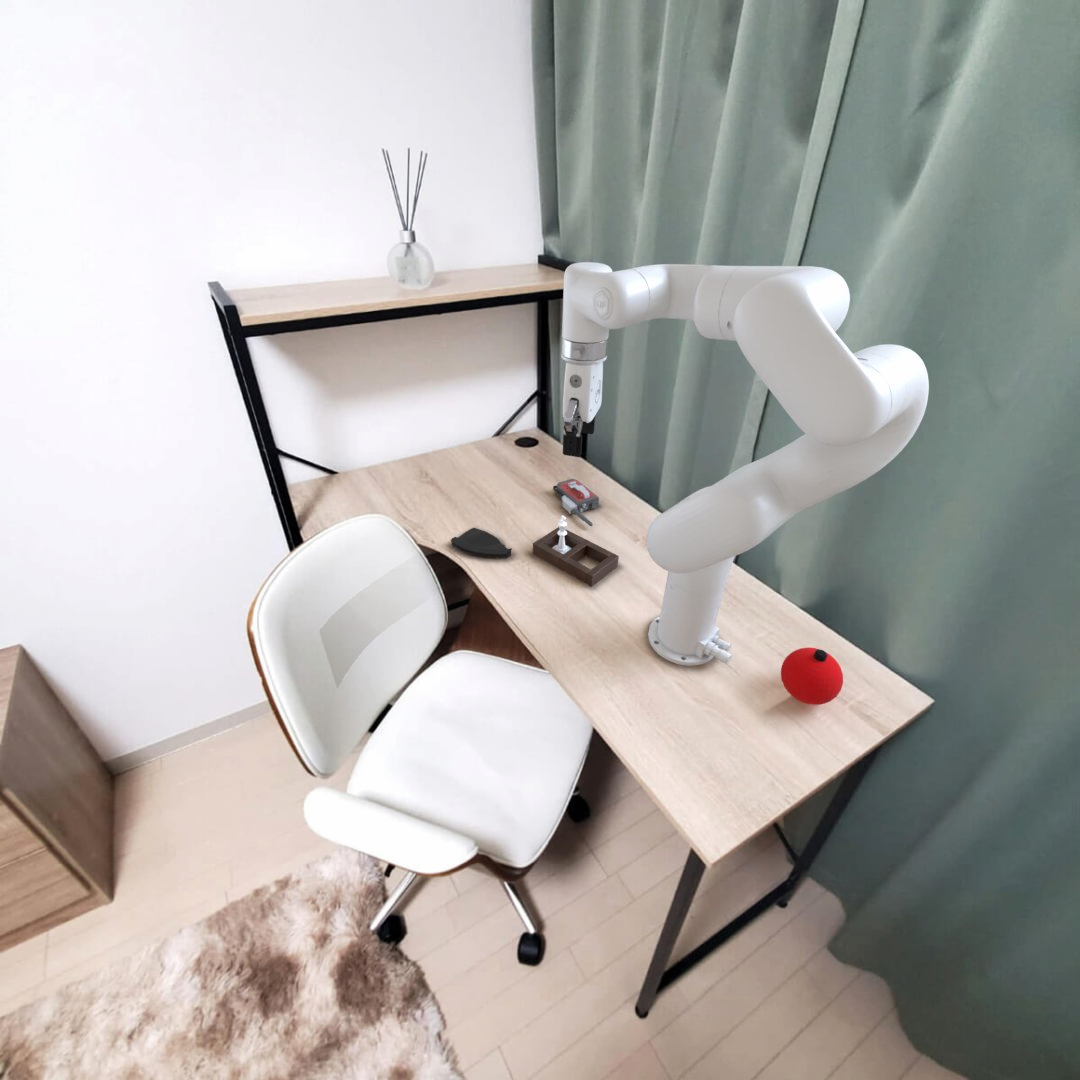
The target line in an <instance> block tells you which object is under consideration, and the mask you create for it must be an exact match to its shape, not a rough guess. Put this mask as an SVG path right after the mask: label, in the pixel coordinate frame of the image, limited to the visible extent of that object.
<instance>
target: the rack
mask: <svg viewBox="0 0 1080 1080" xmlns="http://www.w3.org/2000/svg"><path fill="white" fill-rule="evenodd" d="M559 530H560V529H559V527H556V528H554V529H553V530H552V531H550V532H548V533H546V534H545V535H543V536H542V537H540V538H539V539H537V540H536V541H534V542H533V543H532V555H534V556H536V557H537V558H539V559H541V560H543V561H545V562H546V563H548V564H549V565H552V566H553V567H555V568H557V569H559V570H560V571H562V572H564V573H566V574H568V575H569V576H571V577H573V578H575V579H576V580H578V581H580V582H582V583H584V584H585V585H588V586H589V587H591V588H593V587H594V586H595V585H596V584H598V583H599V582H600V581H601V580H603V579H604V578H605V577H606V576H608V575H609V574H611V573H612V572H613V571H614V570H616V568H618V567H619V555H618V554H616V553H614V552H612V551H611V550H608V549H606V548H604V547H602V546H600V545H598V544H596V543H594V542H592V541H590V540H588V539H586V538H585V537H582V536H580V535H578V534H576V533H574V532H572V531H571V530H568V529H567V528H566V529H565V531H567V535H565V536H564V537H565V545H567V546H569V547H570V548H571V549H570V550H569V551H567V552H566V553H565V554H562V553H560V552H558V551H556V550H554V549H553V547H554V546H556V545H558V544H559V538H560V536H559V535H558V534H557V532H558V531H559ZM585 557H587V558H590V559H592V560H593V561H595V562H597V563H598V564H597V565H595V566H593V567H592V568H590V567H588V566H586V565H583V564H582V563H580V562H579V561H581V560H582V559H583V558H585Z"/></svg>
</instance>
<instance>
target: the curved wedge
mask: <svg viewBox="0 0 1080 1080" xmlns="http://www.w3.org/2000/svg"><path fill="white" fill-rule="evenodd" d="M450 542H451V547H452V549H455V550H456V551H459V552H461V553H462V554H465V555H468V556H471V557H476V558H483V559H504V558H510V557H511V556H512V550H513V548H512V547H511V548H507V547H506V546H505V544H503V543H502V542H501V541H500V539H499V538H498V537H496V536H495V535H493V534H491V533H489V532H487V531H486V530H484V529H483V530H482V529H479V528H476V527H472V528H470V529H468V530H467V531H465V532H464V533H462V534H461V535H459V536H454V537H452V538H451V539H450Z"/></svg>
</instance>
